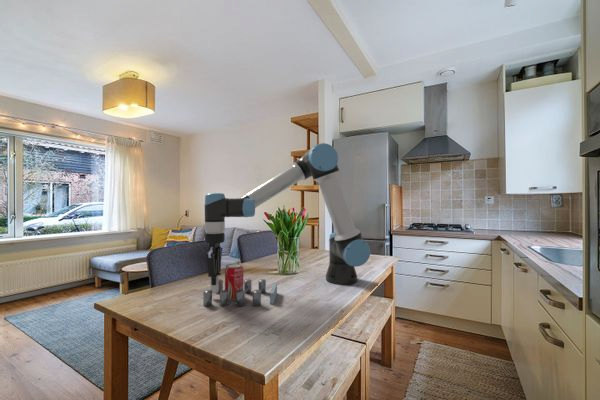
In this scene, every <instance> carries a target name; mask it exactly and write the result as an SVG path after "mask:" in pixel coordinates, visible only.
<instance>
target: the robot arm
mask: <svg viewBox="0 0 600 400" xmlns="http://www.w3.org/2000/svg"><path fill="white" fill-rule="evenodd" d="M338 163H339V153H338V151H337V150H336V148H334V146H333V145H331V144H328V143H324V142H323V143H318V144H316V145H315V144H314V145H313V146H311V148H310V149H309V150H308V151H306V152H305V153H304V154H303V155H302V156H301V157H300V158H299V159H297V160H296V161H294V162H293V164H292V166H290V167H288V168H287V169H285V170H283V171H282V172H280V173H278V174H277V175H275V176H274V177H272V178H271V179H269V180H267V181H265V182H263V183H262V184H261V185H259V186H257V187H256V188H253V189H252V190H250V191H249V192H248V193H246V194H244V195H242V196H241V197H239V198H238V197H237V198H228V197H225V194H224V193H220V192H218V193H216V192H215V193H213V192H210V193H206V194H205V197H204V224H203V227H204V232H205V233H204V243H206V244H209V245H208V249H207V252H206V253H205V256H206V260H207V262H206V263H207V271H208V273H207V275H208V276H207V277H210V290H212V294H219V293H218V292H219V279H220V276H221V274H222V273H221V271H222V267H221V266H222V256H223V255H222V254H223V247H222V246H221V244H223V243H224V242H225V237H226V236H225V235H226V233H225V230H226V229H225V228H226V224H225V223H226V221H225V218H250V217H255V215H256V208H258V207H259V206H261V205H263V204H264V203H266V202H268V201H269V200H271V199H272V198H274V197H275V196H278V195H279V194H281V193H282V192H284V191H286V190H287V189H289V188H290V187H291V186H293V185H296V184H297V183H299V181H300V182H301V181H305V180H307V179H309V178H311V177H312V179H313V181H314V182H316V183H317V184H318V185H319V189H320V191H321V194H322V197H323V200H324V203H325V205H326V209H327V212H328V214H329V217H330V219H331V220H330V221H331V222H332V223H331V224H332V225H333V228H334V231H335V232H331V233H330V234H329V240H328V242H329V243H328V245H329V248H328V249H329V250H328V252H329V257H328V258H329V264H328V267H327V269H326V273H325V281H327V282H329V283H330V284H335V285H352V284H355V283H356V284H357V282H358V275H357V270H356V268H357V267H361V266H363V265H365V264H367V262H368V260H369V258H370V257H371V248H370V245H369V244H368V242H367V241H366V240H364V239H363V236H362V233H361V230H360V229H357V228H356V226H355V223H354V220H353V218H352V214H351V212H350V209H349V205H348V203H347V200H346V197H345V195H344V191H343V189H342V186H341V182H340V180H339V176H338V175H339V173H340V170H339V169H340V168H339V166H338ZM355 267H356V268H355Z"/></svg>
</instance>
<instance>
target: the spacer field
mask: <svg viewBox="0 0 600 400" xmlns="http://www.w3.org/2000/svg"><path fill="white" fill-rule="evenodd" d="M266 287H267V280H266V279H263V278H262V279H258V289H256V290H252V279H249V278H247V279H243V290H238V291H236V301H235V302H236V303H235V305H236V307H238V308H239V307H244V306H245V302H246V301H245V297H246V296H245V294H247V295H248V294H251V293H252V306H253V307H256V308H257V307H260V306H261V305H262V294H266V292H267V289H266ZM217 294H219V306H220V307H224V308H225V307H227V306H229V300H228V290H225V289H224V280H223V279H220V278H219V292H218V293H217ZM202 296H203V297H202V299H203V302H202V303H203V304H202V305H203V307H206V308H207V307H211V306H212V305H213V293H212V290H211V289H207V290H203V295H202Z"/></svg>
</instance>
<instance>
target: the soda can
mask: <svg viewBox="0 0 600 400" xmlns="http://www.w3.org/2000/svg"><path fill="white" fill-rule="evenodd" d="M224 269H225V270H224V290H228V302H230V301H231V302H234V301H235V302H236V291H238V290H244V267H243V263H237V262H236V263H229V264H228V263H227V264H226V265H225V268H224Z"/></svg>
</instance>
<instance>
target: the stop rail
mask: <svg viewBox="0 0 600 400" xmlns="http://www.w3.org/2000/svg"><path fill="white" fill-rule="evenodd" d="M277 294H278V283H273V284H272V286H271V289H270V291H269V305H274V304H275V302H276V297H277Z"/></svg>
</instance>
